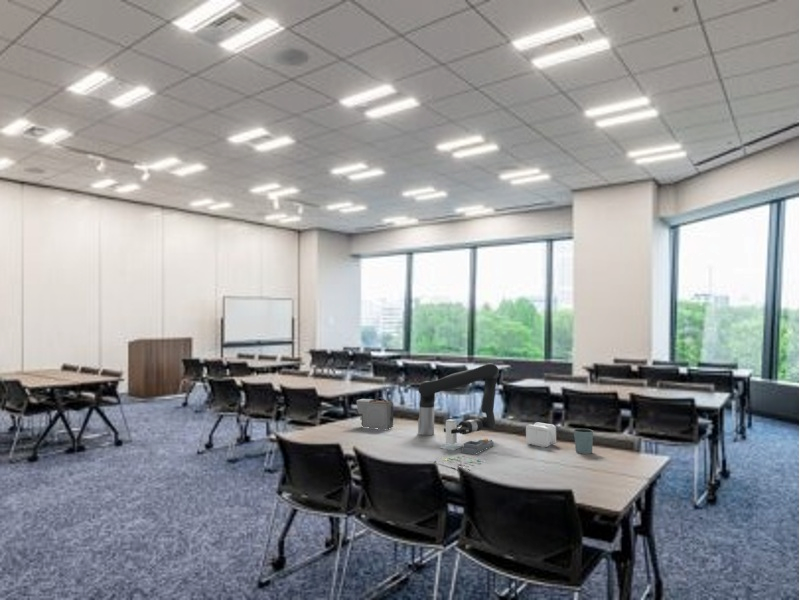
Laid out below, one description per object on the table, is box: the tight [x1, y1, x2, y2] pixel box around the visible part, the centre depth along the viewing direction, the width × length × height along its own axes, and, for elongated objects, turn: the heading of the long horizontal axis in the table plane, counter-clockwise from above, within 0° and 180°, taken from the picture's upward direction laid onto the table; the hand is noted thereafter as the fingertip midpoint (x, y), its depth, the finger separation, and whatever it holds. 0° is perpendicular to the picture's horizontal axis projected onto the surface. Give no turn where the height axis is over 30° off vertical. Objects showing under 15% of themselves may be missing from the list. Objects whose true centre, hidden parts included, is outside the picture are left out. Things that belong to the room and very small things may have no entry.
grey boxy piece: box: [356, 384, 394, 430], centre depth 364 cm, size 12×24×30 cm, turn 67°
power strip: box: [461, 438, 494, 455], centre depth 307 cm, size 8×30×4 cm, turn 147°
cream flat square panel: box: [444, 455, 486, 467], centre depth 279 cm, size 30×30×2 cm
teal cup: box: [573, 428, 594, 455], centre depth 298 cm, size 10×10×12 cm
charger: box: [445, 418, 458, 445], centre depth 307 cm, size 4×4×13 cm
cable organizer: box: [525, 421, 557, 448], centre depth 315 cm, size 15×11×12 cm
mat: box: [439, 443, 463, 451], centre depth 307 cm, size 9×9×1 cm
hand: (448, 431), depth 306 cm, fingers closed on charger, 5 cm apart
